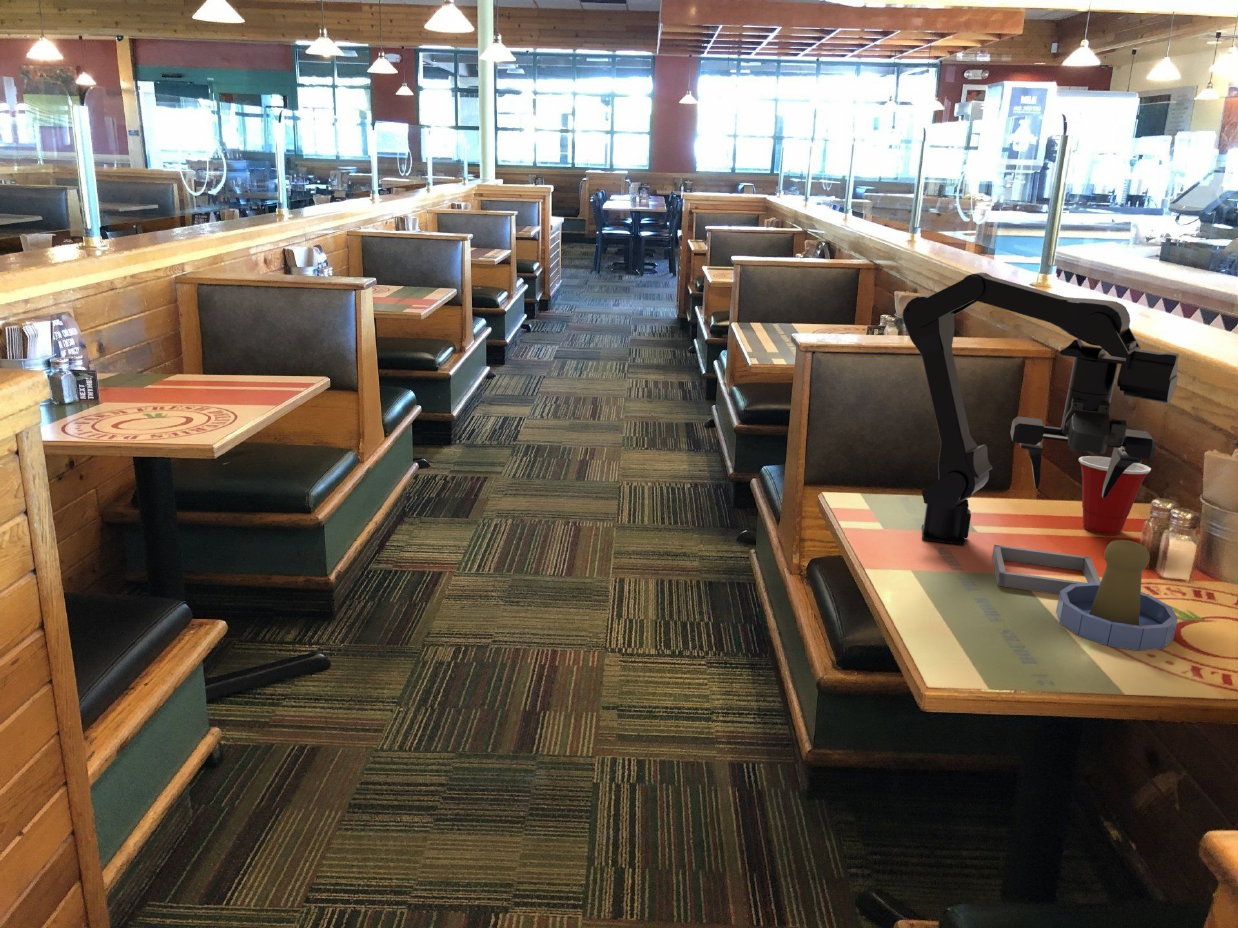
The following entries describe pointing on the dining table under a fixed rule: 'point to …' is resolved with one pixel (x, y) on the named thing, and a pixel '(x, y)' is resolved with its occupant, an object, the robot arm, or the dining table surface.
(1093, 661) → the dining table surface
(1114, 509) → the plastic cup
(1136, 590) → the olive game pawn
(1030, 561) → the open gray frame
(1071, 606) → the bowl
